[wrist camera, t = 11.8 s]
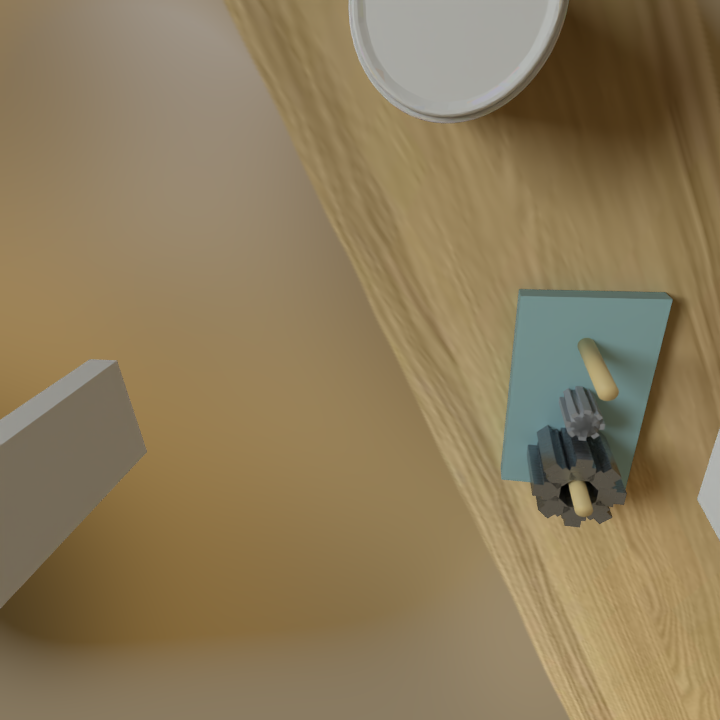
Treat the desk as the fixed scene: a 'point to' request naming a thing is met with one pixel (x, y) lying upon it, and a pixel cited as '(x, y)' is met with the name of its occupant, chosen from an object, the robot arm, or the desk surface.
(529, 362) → the carrier
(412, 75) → the coffee cup
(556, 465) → the gear
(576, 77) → the desk surface
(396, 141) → the desk surface
